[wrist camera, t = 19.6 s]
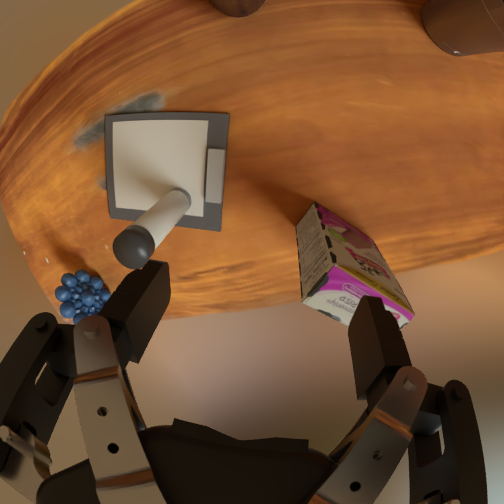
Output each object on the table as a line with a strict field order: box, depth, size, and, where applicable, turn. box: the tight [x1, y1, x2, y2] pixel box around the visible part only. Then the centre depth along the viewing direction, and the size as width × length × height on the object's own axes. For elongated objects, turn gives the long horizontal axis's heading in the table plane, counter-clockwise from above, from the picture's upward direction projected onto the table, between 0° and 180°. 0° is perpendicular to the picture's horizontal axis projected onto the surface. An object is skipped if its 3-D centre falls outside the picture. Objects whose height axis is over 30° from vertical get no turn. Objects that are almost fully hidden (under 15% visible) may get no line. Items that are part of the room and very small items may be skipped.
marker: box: [113, 188, 191, 269], centre depth 30 cm, size 4×4×14 cm
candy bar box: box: [296, 202, 415, 329], centre depth 29 cm, size 11×5×16 cm, turn 61°
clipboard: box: [105, 112, 230, 232], centre depth 34 cm, size 16×18×2 cm
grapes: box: [55, 269, 111, 325], centre depth 41 cm, size 12×7×12 cm, turn 27°
